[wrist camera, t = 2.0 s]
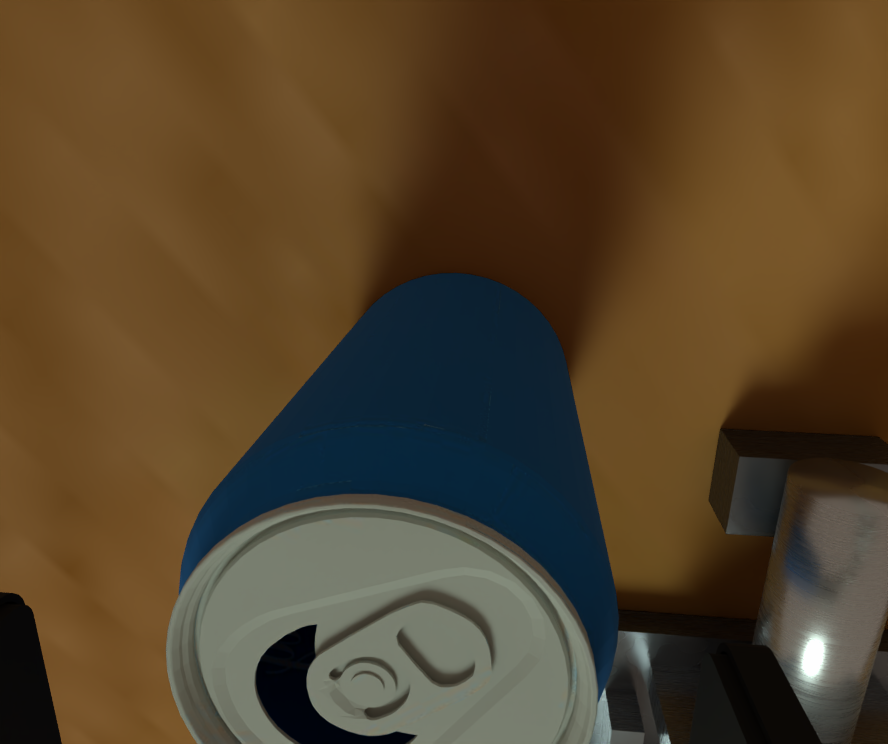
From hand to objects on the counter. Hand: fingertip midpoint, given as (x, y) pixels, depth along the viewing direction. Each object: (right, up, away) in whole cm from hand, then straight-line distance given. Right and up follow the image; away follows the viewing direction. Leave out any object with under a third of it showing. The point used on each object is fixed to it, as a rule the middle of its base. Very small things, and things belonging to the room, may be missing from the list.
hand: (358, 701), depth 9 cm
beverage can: (+2, +5, +11) cm, 12 cm away
